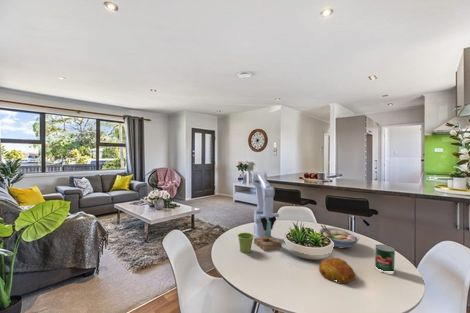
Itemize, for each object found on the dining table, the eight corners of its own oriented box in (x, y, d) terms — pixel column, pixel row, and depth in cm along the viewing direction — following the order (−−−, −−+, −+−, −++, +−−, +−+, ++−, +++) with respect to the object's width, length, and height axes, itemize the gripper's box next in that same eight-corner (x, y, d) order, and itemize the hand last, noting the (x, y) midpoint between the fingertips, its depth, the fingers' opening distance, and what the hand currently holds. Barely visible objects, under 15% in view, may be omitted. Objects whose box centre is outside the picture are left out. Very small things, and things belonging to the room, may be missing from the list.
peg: (263, 234, 138) (264, 221, 138) (269, 233, 139) (269, 220, 139) (266, 236, 135) (266, 223, 135) (271, 235, 136) (272, 222, 136)
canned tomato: (390, 267, 113) (391, 245, 113) (397, 275, 106) (397, 252, 106) (372, 264, 115) (373, 243, 115) (377, 272, 108) (378, 249, 108)
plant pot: (253, 247, 134) (254, 233, 134) (253, 254, 124) (253, 239, 124) (238, 246, 135) (238, 232, 135) (236, 253, 125) (236, 238, 125)
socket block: (254, 243, 141) (254, 238, 141) (270, 240, 145) (270, 235, 145) (264, 250, 130) (264, 245, 130) (281, 247, 134) (281, 242, 134)
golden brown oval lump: (313, 275, 109) (312, 259, 109) (339, 265, 114) (337, 250, 114) (336, 291, 95) (334, 273, 95) (364, 280, 101) (362, 262, 100)
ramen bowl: (366, 256, 125) (367, 241, 125) (323, 252, 129) (323, 238, 129) (351, 239, 150) (352, 227, 149) (315, 236, 154) (315, 224, 153)
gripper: (261, 209, 130) (260, 233, 131) (282, 207, 136) (281, 230, 137) (255, 207, 137) (254, 229, 137) (275, 205, 143) (275, 226, 143)
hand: (267, 229), depth 137 cm, fingers closed on peg, 4 cm apart
